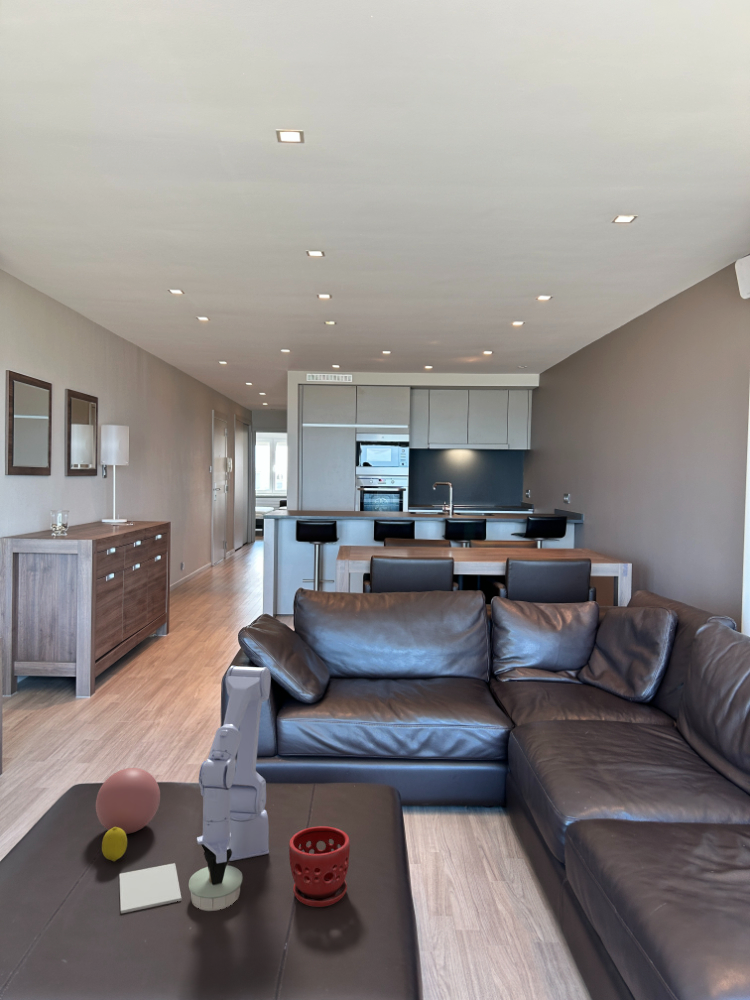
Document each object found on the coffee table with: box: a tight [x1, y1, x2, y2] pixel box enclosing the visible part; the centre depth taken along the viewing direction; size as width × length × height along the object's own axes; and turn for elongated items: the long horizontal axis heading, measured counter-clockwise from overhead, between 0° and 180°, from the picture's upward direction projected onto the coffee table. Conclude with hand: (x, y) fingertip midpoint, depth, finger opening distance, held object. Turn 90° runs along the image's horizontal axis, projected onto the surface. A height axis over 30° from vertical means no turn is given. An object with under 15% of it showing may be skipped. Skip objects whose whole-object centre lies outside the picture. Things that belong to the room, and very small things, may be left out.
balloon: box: [95, 767, 161, 835], centre depth 170 cm, size 15×20×15 cm
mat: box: [119, 862, 182, 914], centre depth 144 cm, size 12×14×1 cm
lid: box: [188, 864, 243, 898], centre depth 141 cm, size 11×11×3 cm
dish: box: [190, 886, 241, 912], centre depth 141 cm, size 10×10×3 cm
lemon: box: [101, 827, 128, 862], centre depth 154 cm, size 6×6×8 cm
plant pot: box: [288, 825, 351, 908], centre depth 142 cm, size 13×13×12 cm
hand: (215, 878), depth 141 cm, fingers closed on lid, 3 cm apart
